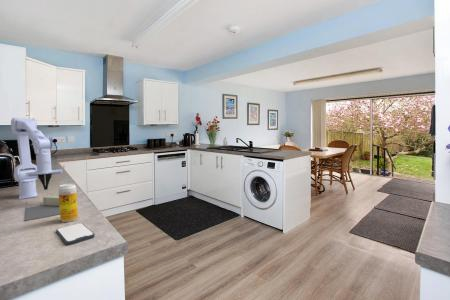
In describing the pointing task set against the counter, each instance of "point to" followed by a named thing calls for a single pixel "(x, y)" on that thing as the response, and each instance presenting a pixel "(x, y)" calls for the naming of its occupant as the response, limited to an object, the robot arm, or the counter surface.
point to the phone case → (75, 233)
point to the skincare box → (51, 200)
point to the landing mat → (41, 212)
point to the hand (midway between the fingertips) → (45, 189)
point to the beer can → (68, 202)
